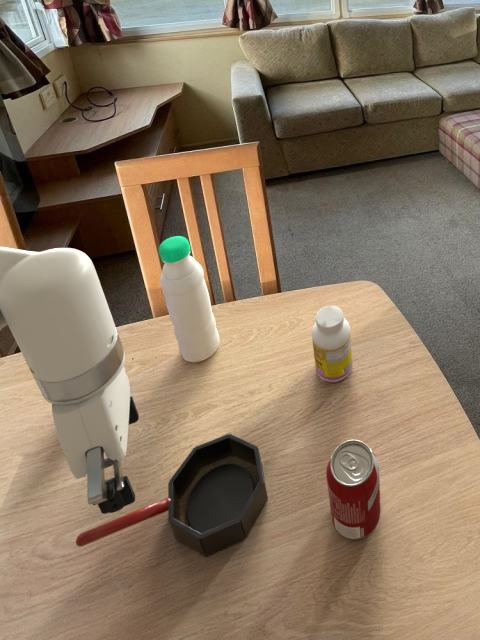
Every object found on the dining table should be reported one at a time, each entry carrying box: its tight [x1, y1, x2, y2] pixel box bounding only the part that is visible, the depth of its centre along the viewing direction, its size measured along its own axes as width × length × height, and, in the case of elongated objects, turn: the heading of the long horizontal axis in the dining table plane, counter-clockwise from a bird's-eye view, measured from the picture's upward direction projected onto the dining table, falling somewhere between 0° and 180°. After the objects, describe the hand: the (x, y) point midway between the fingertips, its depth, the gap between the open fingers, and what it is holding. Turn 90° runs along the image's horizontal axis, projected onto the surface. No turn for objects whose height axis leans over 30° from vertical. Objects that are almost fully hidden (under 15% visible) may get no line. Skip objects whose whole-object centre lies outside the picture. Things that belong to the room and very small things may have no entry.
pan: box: [75, 433, 269, 558], centre depth 65 cm, size 23×12×5 cm, turn 112°
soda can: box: [325, 439, 382, 541], centre depth 64 cm, size 7×7×12 cm
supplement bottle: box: [311, 305, 353, 383], centre depth 84 cm, size 7×7×13 cm
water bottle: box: [158, 235, 220, 363], centre depth 86 cm, size 7×7×25 cm
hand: (122, 461), depth 56 cm, fingers open, 9 cm apart
